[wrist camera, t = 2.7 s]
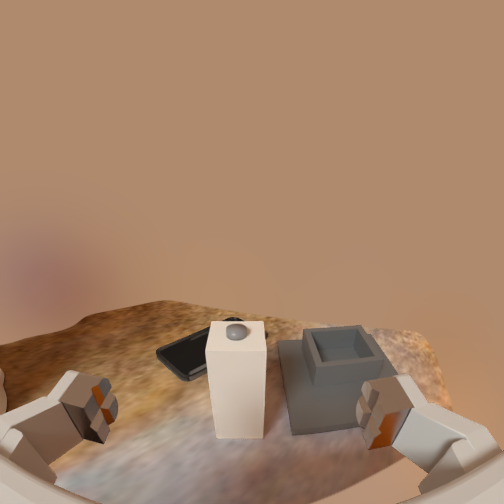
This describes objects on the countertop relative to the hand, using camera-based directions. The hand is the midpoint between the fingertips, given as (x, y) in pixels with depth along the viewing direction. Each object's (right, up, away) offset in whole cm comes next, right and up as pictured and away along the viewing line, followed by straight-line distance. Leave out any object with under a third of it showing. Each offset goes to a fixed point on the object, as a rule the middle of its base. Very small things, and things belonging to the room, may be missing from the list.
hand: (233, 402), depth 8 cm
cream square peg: (-1, -12, +17) cm, 21 cm away
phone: (-5, -9, +30) cm, 32 cm away
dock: (+11, -11, +23) cm, 28 cm away
